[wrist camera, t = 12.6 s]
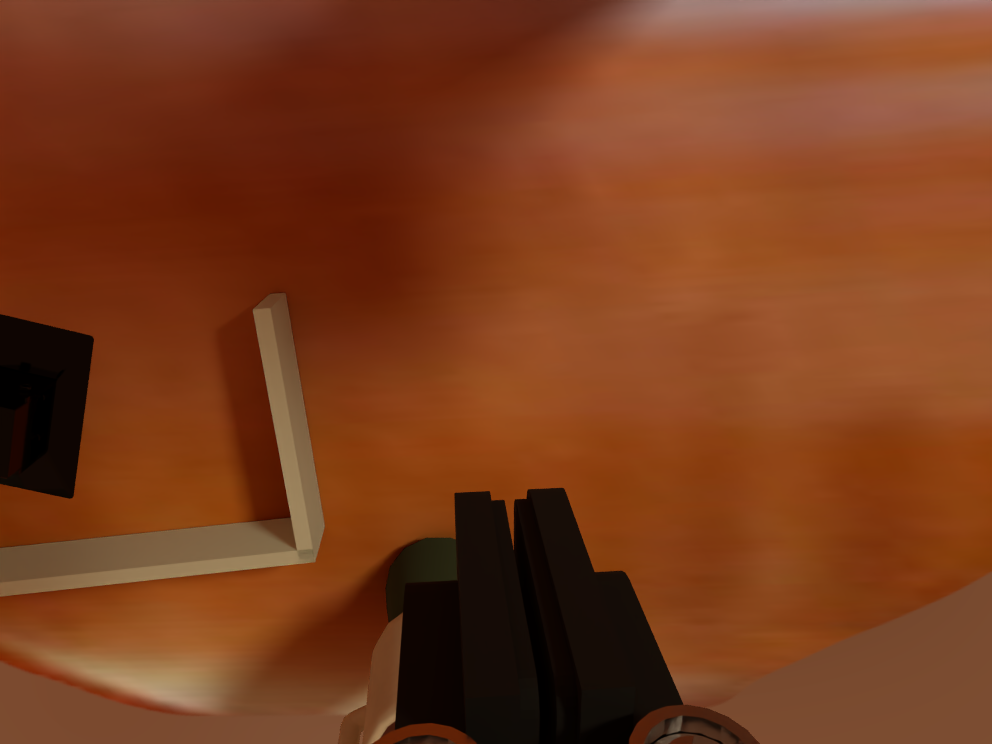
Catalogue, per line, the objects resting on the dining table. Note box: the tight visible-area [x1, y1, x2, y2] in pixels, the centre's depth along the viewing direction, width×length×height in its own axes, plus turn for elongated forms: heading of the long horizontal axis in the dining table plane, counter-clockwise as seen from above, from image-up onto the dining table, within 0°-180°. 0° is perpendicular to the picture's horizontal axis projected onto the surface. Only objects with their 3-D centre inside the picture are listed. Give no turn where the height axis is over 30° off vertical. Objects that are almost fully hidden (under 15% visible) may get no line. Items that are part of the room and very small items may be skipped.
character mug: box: [338, 538, 457, 744], centre depth 34 cm, size 11×7×13 cm, turn 116°
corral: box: [0, 293, 325, 597], centre depth 34 cm, size 14×20×4 cm
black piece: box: [0, 314, 94, 499], centre depth 33 cm, size 12×7×5 cm, turn 163°
